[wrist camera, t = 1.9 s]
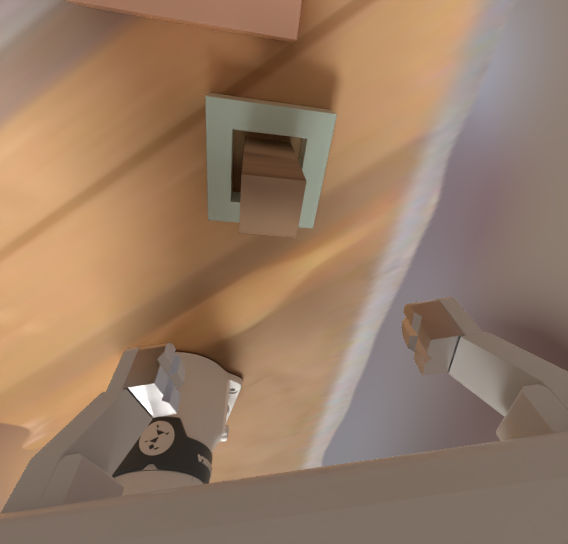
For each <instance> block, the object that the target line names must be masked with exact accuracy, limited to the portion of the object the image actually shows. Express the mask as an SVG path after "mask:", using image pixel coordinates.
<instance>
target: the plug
mask: <svg viewBox="0 0 568 544" xmlns="http://www.w3.org/2000/svg"><path fill="white" fill-rule="evenodd" d="M306 182H307V181H306V179H305V176H304V174H303V171H302V169H301V167H300V164H299V162H298V160H297V157H296V155H295V153H294V150H293V148H292V146H291V143H288V142H280V141H272V140H263V139H255V138H247V137H245V145H244V155H243V165H242V175H241V197H240V218H239V233H244V234H257V235H271V236H284V237H297V232H298V227H299V221H300V216H301V210H302V204H303V199H304V193H305V187H306Z"/></svg>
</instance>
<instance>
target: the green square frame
mask: <svg viewBox="0 0 568 544" xmlns="http://www.w3.org/2000/svg"><path fill="white" fill-rule="evenodd" d="M205 102H206V148H207V193H208V220H212V221H225V222H237V223H239V218H240V197H241V192H232V176H233V141H234V130H242V131H250V132H258V133H266V134H274V135H282V136H290V137H298V138H302V143H301V149H300V156H299V164H300V167H301V169H302V171H303V174H304V176H305V179H306V181H307V182H306V187H305V193H304V199H303V204H302V210H301V216H300V221H299V227H301V228H313V226H314V221H315V216H316V212H317V207H318V202H319V197H320V193H321V188H322V183H323V178H324V174H325V169H326V164H327V159H328V155H329V150H330V145H331V140H332V136H333V131H334V126H335V121H336V117H337V114H336V113H334V112H333V111H331V110H329V109H322V108H315V107H308V106H301V105H294V104H287V103H280V102H273V101H266V100H258V99H251V98H244V97H237V96H230V95H223V94H216V93H208V94H207V95H206V96H205Z"/></svg>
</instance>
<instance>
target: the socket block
mask: <svg viewBox="0 0 568 544" xmlns="http://www.w3.org/2000/svg"><path fill="white" fill-rule="evenodd" d="M64 1H68V2H71V3H75V4H78V5H81V6H85V7H89V8H94V9H100V10H106V11H112V12H118V13H123V14H129V15H135V16H141V17H147V18H153V19H158V20H164V21H170V22H176V23H182V24H187V25H193V26H199V27H205V28H211V29H216V30H222V31H228V32H234V33H240V34H245V35H251V36H257V37H263V38H269V39H274V40H280V41H286V42H293V41H296V40H297V36H298V28H299V20H300V12H301V4H302V0H64Z"/></svg>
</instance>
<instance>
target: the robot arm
mask: <svg viewBox="0 0 568 544" xmlns="http://www.w3.org/2000/svg"><path fill="white" fill-rule="evenodd" d="M404 314H405V316H406V318H405V319H404V320H403V321H402V333H403V337H404V340H405V343H406V345H407V347H408V348H409V349H411V350H412V351H414V352H415V354H414V360H415V362H416V364H417V366H418V368H419V370H420V372H421V374H422V375H431V374H440V373H448V372H449V374H450V375H451V376H452V377H454V378H455V379H456V380H458V381H459V382H460V383H461V384H463V385H464V386H465V387H467V388H468V389H469V390H471V391H472V392H473V393H475V394H476V395H477V396H478V397H480V398H481V399H482V400H484V401H485V402H486V403H488V404H489V405H490V406H491V407H493V408H494V409H495V410H497V411H498V412H499V413H501V414H502V415H503V416H504V419H503V421H502V422H501V424H500V425H499V427H498V429H497V431H496V434H497V436H498V437H499V439H500V441H497V442H490V443H483V444H476V445H469V446H462V447H455V448H449V449H442V450H435V451H428V452H421V453H415V454H407V455H400V456H394V457H387V458H380V459H374V460H366V461H359V462H353V463H346V464H339V465H332V466H325V467H318V468H311V469H304V470H297V471H290V472H284V473H277V474H270V475H263V476H256V477H249V478H242V479H235V480H229V481H222V482H215V483H209V480H210V477H211V471H212V466H211V464H212V453H213V451H214V449H215V447H216V446H217V444H218V443H219V441H224V442H225V441H227V437H228V425H226V422H227V420H228V417H229V415H230V413H231V410H232V408H233V406H234V403H235V401H236V399H237V396H238V394H239V392H240V389H241V386H242V379H241V378H239V377H237V376H235V375H233V374H230V373H228V372H226V371H225V370H224V369H223V368H221V367H220V366H219V365H218V364H217V363H215V362H213V361H212V360H210V359H208V358H205V357H202V356H199V355H196V354H191V353H184V352H175V351H176V348H175V347H174V345H173V344H172V343H164V344H157V345H149V346H142V347H136V348H129V349H127V350H126V351H125V352H124V353H123V355H122V357H121V359H120V362H119V364H118V366H117V368H116V371H115V373H114V375H113V377H112V379H111V382H110V384H109V386H108V388H107V391H106V392H103V393H101V394H100V395H99V396H98V397H96V398H95V399H94V400H93V401H92V402H91V403H90V404H89V405H88V406H87V407H86V408H85V409H84V410H83V411H82V412H80V413H79V414H78V415H77V416H76V417H75V418H74V419H73V420H72V421H71V422H70V423H69V424H68V425H67V426H66V427H65V428H63V429H62V430H61V431H60V432H59V433H58V434H57V435H56V436H55V437H54V438H53V439H52V440H51V441H50V442H49V443H47V444H46V445H45V446H44V447H43V448H42V449H41V450H40V451H39V452H38V453H37V454H36V455H35V456H34V457H33V458H32V459H31V460H30V461H29V463H28V465H27V467H26V469H25V470H24V472H23V474H22V476H21V478H20V480H19V481H18V483H17V485H16V487H15V488H14V490H13V492H12V494H11V495H10V497H9V499H8V501H7V503H6V504H5V506H4V508H3V510H2V512H1V513H0V544H568V372H567V371H565V370H563V369H561V368H559V367H557V366H555V365H553V364H551V363H549V362H547V361H545V360H543V359H541V358H539V357H537V356H535V355H533V354H531V353H529V352H527V351H525V350H523V349H521V348H519V347H517V346H515V345H513V344H511V343H509V342H507V341H505V340H503V339H501V338H499V337H497V336H495V335H492V334H491V333H489V332H485V333H483V332H482V331H481V330H480V328H479V327H478V326H477V325H476V324H475V322H474V321H473V320H472V319H471V318H470V316H469V315H468V314H467V313H466V312H465V310H464V309H463V308H462V307H461V306H460V304H459V303H458V302H457V301H456V299H455V298H453V297H446V298H440V299H436V300H435V299H434V300H428V301H422V302H416V303H410V304H406V305H405V307H404Z"/></svg>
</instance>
